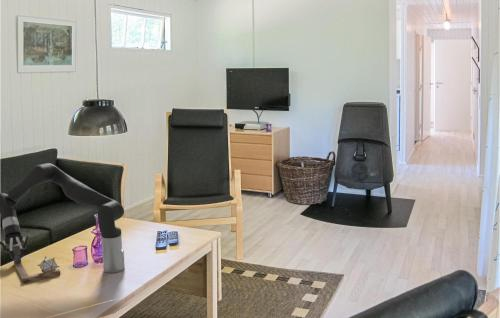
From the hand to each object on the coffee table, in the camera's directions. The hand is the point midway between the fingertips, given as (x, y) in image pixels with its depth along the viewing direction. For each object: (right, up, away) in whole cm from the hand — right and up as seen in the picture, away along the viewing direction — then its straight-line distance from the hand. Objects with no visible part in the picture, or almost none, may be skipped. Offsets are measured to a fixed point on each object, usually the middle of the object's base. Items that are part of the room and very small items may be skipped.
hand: (17, 257), depth 239 cm
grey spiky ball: (+19, -6, -8) cm, 21 cm away
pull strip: (+11, -5, -4) cm, 12 cm away
